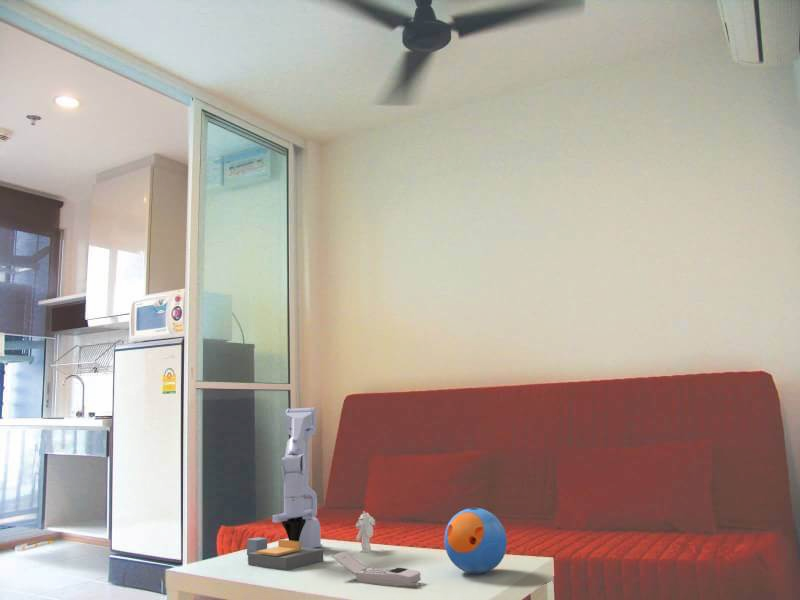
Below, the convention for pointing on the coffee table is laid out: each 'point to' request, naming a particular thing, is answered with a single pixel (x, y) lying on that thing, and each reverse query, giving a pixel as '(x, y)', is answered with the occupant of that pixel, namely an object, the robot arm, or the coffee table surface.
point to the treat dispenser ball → (475, 541)
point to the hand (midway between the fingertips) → (293, 545)
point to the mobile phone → (378, 573)
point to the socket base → (287, 559)
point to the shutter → (282, 548)
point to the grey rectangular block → (256, 544)
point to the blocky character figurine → (365, 531)
